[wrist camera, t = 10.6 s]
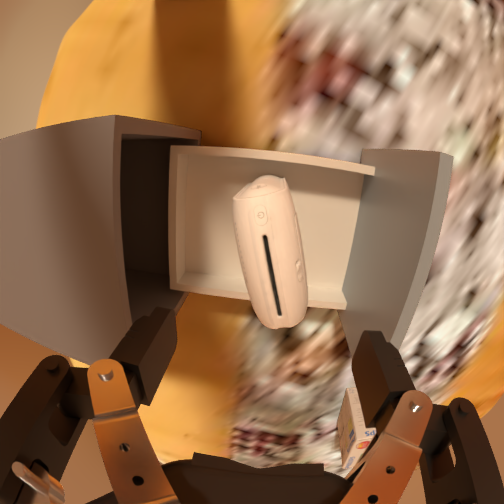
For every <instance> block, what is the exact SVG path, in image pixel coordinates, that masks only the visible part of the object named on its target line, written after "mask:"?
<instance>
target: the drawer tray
mask: <svg viewBox="0 0 504 504" xmlns="http://www.w3.org/2000/svg"><path fill="white" fill-rule="evenodd" d="M452 165H453V156H451V155H448V154H445V153H442V152H435V151H421V150H401V149H362V155H361V163H360V164H357V163H352V162H347V161H341V160H335V159H329V158H323V157H316V156H309V155H302V154H294V153H286V152H277V151H267V150H257V149H245V148H230V147H212V146H175V145H171V148H170V167H169V200H168V245H169V277H170V289H173V290H180V291H186V292H193V293H200V294H207V295H214V296H221V297H228V298H236V299H244V300H250V297H249V294H248V291H247V287H246V284H245V280H244V276H243V272H242V267H241V263H240V258H239V254H238V249H237V243H236V238H235V231H234V224H233V215H232V204H233V197H234V196H235V195H236V194H237V193H238V192H239V191H241V190H242V189H243V188H244V187H245V186H246V185H247V184H249V183H253V182H254V181H255V180H256V179H257V178H258V177H260V176H263V175H268V174H270V175H276V176H278V177H280V178H282V177H285V179H286V181H287V183H288V186H289V189H290V193H291V196H292V200H293V203H294V207H295V211H296V213H297V218H298V223H299V228H300V233H301V239H302V245H303V252H304V259H305V266H306V275H307V286H308V305H307V307H318V308H330V309H337V311H338V314H339V317H340V320H341V323H342V327H343V330H344V333H345V336H346V340H347V343H348V347H349V350H350V353H351V357H352V359H353V355H354V353H355V350H356V348H357V345H358V343H359V340H360V337H361V335H362V332H363V331H364V330H373V331H381V332H382V333H383V335H384V338H385V340H386V342H390V343H391V344H392V345H393V346H395V347H396V348H397V349H398V351H399V348H400V346H401V344H402V342H403V340H404V337H405V335H406V333H407V330H408V328H409V326H410V323H411V321H412V318H413V316H414V313H415V311H416V308H417V305H418V303H419V300H420V297H421V295H422V292H423V289H424V286H425V283H426V280H427V277H428V274H429V271H430V267H431V264H432V261H433V257H434V254H435V250H436V246H437V243H438V239H439V235H440V231H441V227H442V222H443V218H444V213H445V208H446V203H447V198H448V192H449V186H450V180H451V173H452Z"/></svg>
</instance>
